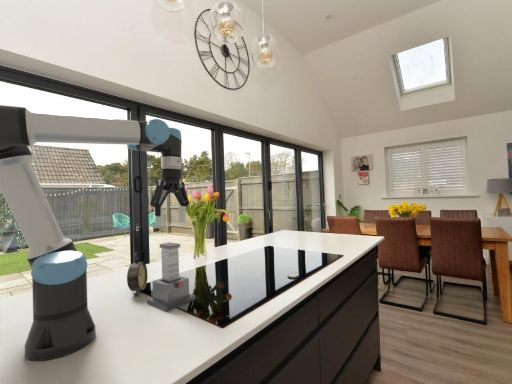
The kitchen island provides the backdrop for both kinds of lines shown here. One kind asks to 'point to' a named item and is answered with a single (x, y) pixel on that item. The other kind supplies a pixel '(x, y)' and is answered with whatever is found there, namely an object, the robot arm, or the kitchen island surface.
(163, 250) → the column
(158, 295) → the stand base
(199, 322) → the kitchen island surface
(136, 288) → the alarm clock
